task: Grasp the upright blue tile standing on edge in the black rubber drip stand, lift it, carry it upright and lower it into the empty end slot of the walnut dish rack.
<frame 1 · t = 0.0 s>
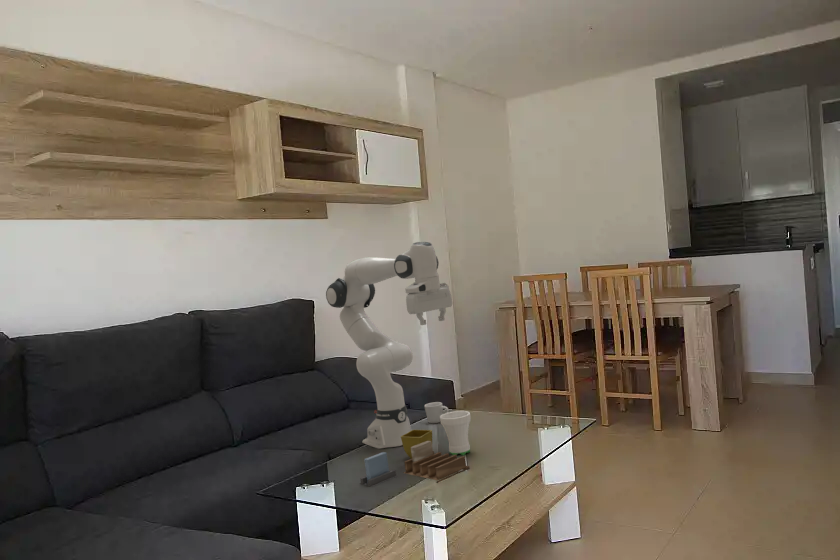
hand: (432, 322, 248), 48 cm above the table, fingers open, 8 cm apart
rack: (436, 471, 227), on the table
cup 2: (460, 453, 245), on the table
drip stand: (379, 481, 224), on the table
upright blue tile: (378, 479, 224), point 1 cm above the table, touching drip stand
flower pot: (419, 457, 246), on the table
cup: (438, 422, 296), on the table
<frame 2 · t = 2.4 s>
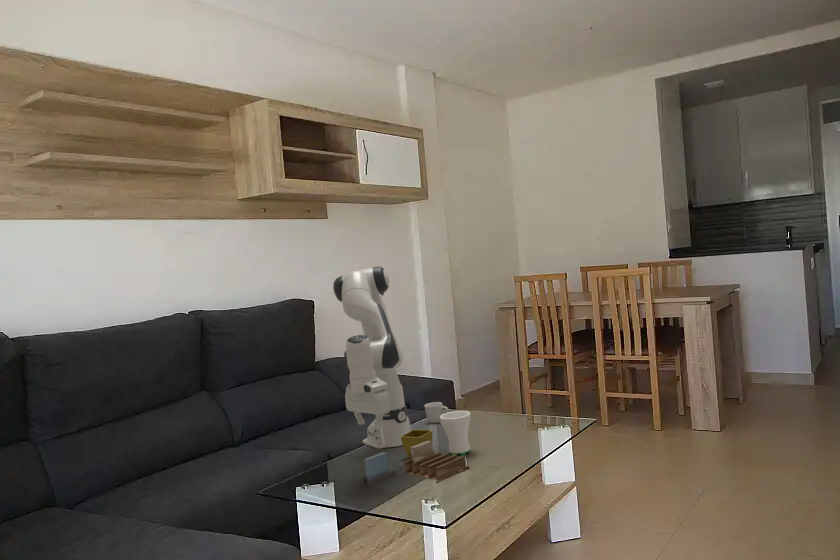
hand: (370, 425, 224), 19 cm above the table, fingers open, 8 cm apart
nothing on the table moved.
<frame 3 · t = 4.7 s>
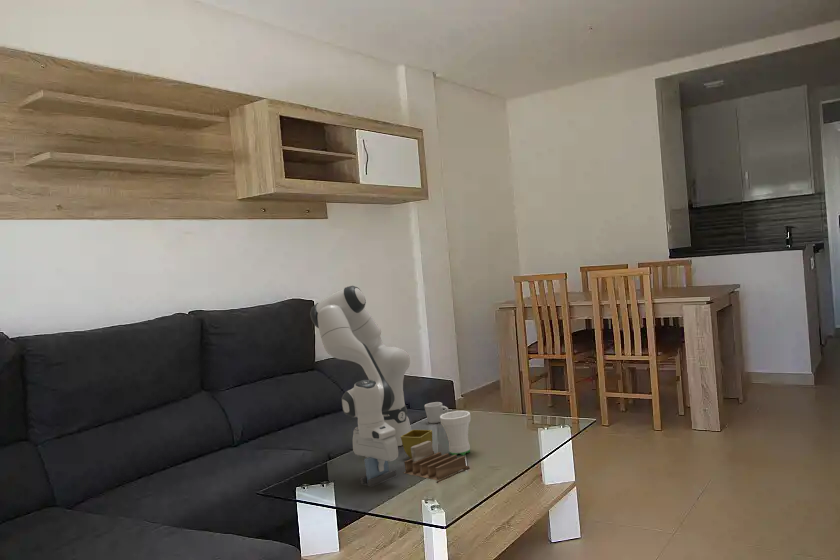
hand: (377, 470, 224), 4 cm above the table, fingers closed on upright blue tile, 2 cm apart
upright blue tile: (378, 479, 224), point 1 cm above the table, touching drip stand, gripper
everything else where it was.
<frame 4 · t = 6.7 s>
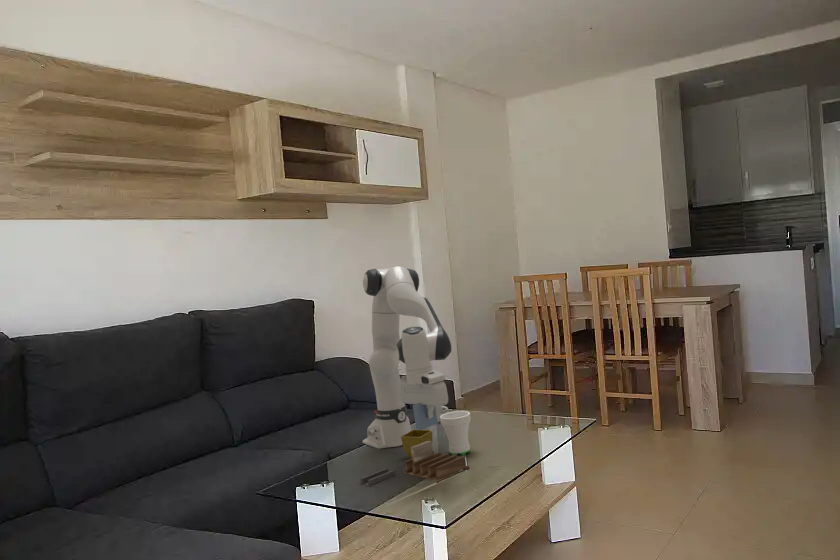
hand: (426, 417, 223), 20 cm above the table, fingers closed on upright blue tile
upright blue tile: (427, 426, 222), point 17 cm above the table, touching gripper
everything else where it was.
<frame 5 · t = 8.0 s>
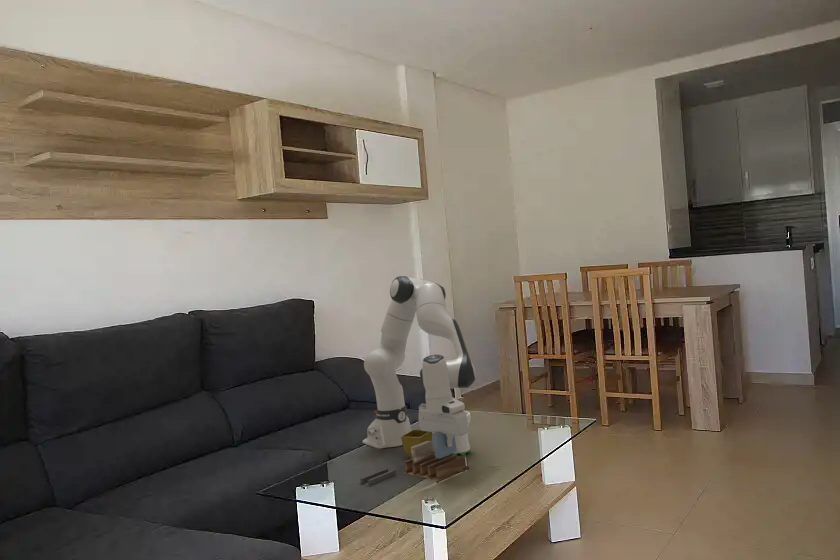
hand: (445, 445, 223), 9 cm above the table, fingers closed on upright blue tile
upright blue tile: (446, 454, 223), point 7 cm above the table, touching gripper
everything else where it was.
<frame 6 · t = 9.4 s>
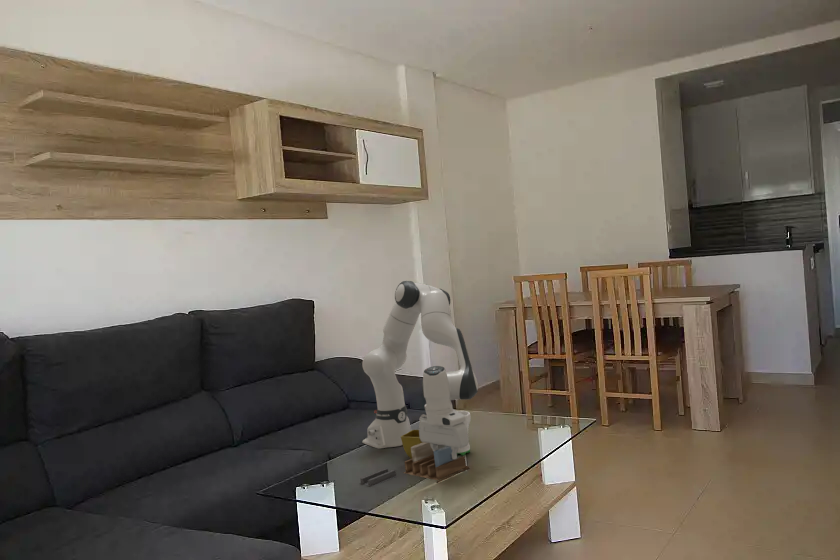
hand: (445, 457, 223), 6 cm above the table, fingers open, 6 cm apart
upright blue tile: (447, 471, 223), point 1 cm above the table, touching rack
everything else where it was.
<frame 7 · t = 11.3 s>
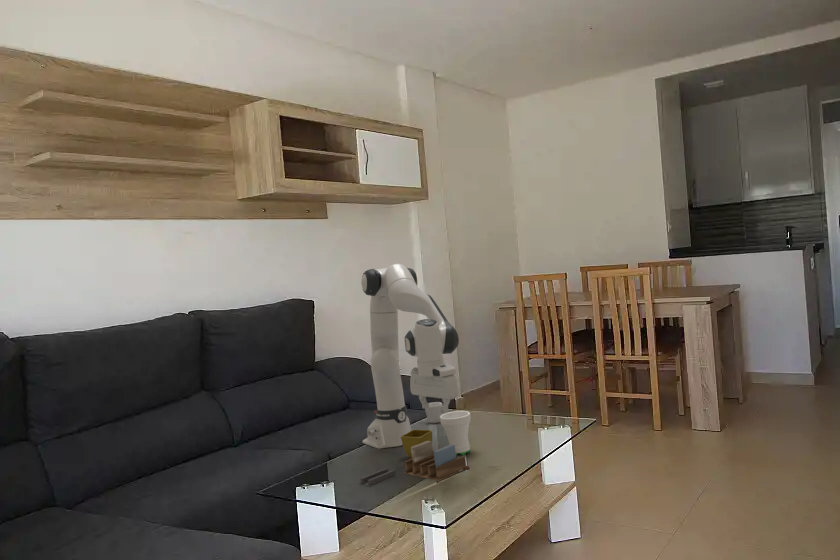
hand: (435, 410, 223), 22 cm above the table, fingers open, 8 cm apart
nothing on the table moved.
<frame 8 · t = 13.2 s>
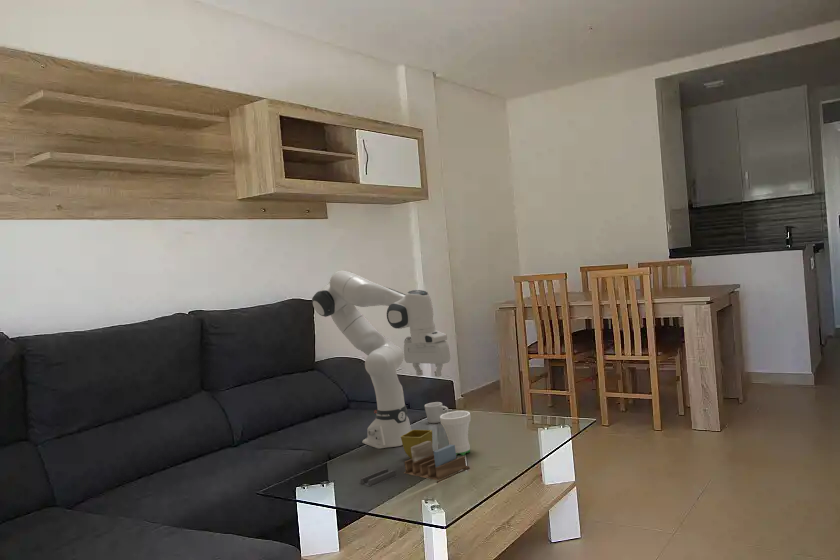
hand: (428, 375, 235), 31 cm above the table, fingers open, 8 cm apart
nothing on the table moved.
at the end: upright blue tile 0.1 cm from the target spot on the rack, point 0.8 cm above the rack's base; upright blue tile tilted 0°; the gripper is holding nothing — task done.
